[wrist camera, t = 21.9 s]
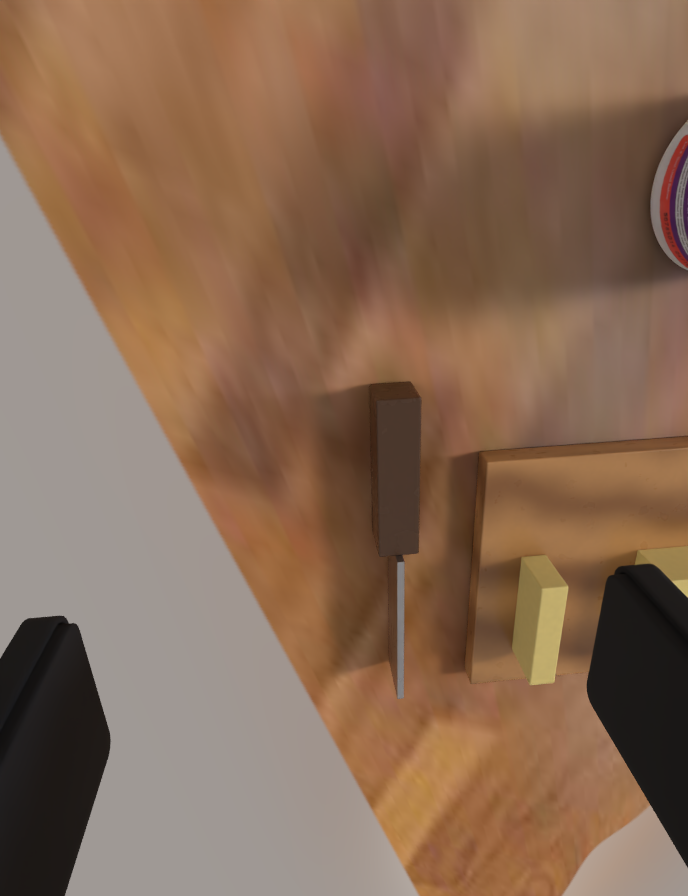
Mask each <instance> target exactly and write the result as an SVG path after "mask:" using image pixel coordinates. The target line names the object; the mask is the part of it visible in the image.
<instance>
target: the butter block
mask: <svg viewBox="0 0 688 896" xmlns="http://www.w3.org/2000/svg"><path fill="white" fill-rule="evenodd" d="M649 563H650V564H654V565H655V566H657V567H658V568H659V569H660V570H661V571H662V572H663V573H664V574H665V575H666V576H667V577H668V578H669V579H670V580H671V581H672V582H673V583H674V584H675V585H676V586H677V587H678V588H679V589H680V590H681V591H682V592H683V593H684V594H685V595H686V596H687V597H688V546H681V547H670V548H658V549H647V550H638V551H637V556H636V561H635V565H638V564H649Z"/></svg>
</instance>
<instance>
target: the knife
mask: <svg viewBox="0 0 688 896" xmlns="http://www.w3.org/2000/svg"><path fill="white" fill-rule="evenodd" d="M369 393H370V439H371V484H372V530H373V535H374V539H375V543H376V547H377V551H378V555H379V556H380V557H383V556H388V615H389V663H390V667H391V672H392V676H393V681H394V686H395V690H396V695H397V699H402V698H404V566H405V562H404V559H403V556H402V555H406V554H417V553H418V552H419V503H420V447H421V397H420V395H419V394H418V392H417V391H416V389H415V388H414V386H413V385H412V383H411V382H397V383H382V384H371V385H370V386H369Z"/></svg>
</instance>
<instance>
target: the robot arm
mask: <svg viewBox="0 0 688 896" xmlns="http://www.w3.org/2000/svg"><path fill="white" fill-rule="evenodd" d="M587 693H588V697H589V700H590V703H591V705H592V707H593V709H594V710H595V712H596V714H597V715H598V717H599V719H600V720H601V722H602V724H603V725H604V727H605V729H606V730H607V732H608V734H609V736H610V737H611V739H612V741H613V742H614V744H615V746H616V747H617V749H618V751H619V752H620V754H621V756H622V757H623V759H624V761H625V763H626V764H627V766H628V768H629V769H630V771H631V773H632V774H633V776H634V778H635V779H636V781H637V783H638V785H639V786H640V788H641V790H642V791H643V793H644V795H645V796H646V798H647V800H648V801H649V803H650V805H651V806H652V808H653V810H654V811H655V813H656V814H657V817H658V818H659V820H660V822H661V823H662V825H663V827H664V828H665V830H666V832H667V833H668V835H669V837H670V838H671V840H672V842H673V844H674V845H675V847H676V849H677V850H678V852H679V854H680V855H681V857H682V859H683V860H684V862H685V864H686V865H687V867H688V597H687V596H686V595H685V594H684V593H683V592H682V591H681V590H680V589H679V588H678V587H677V586H676V585H675V584H674V583H673V582H672V581H671V580H670V579H669V578H668V577H667V576H666V575H665V574H664V573H663V572H662V571H661V570H660V569H659V568H658V567H657V566H655V565H654V564H650V563H649V564H638V565H627V566H620V567H618V568H617V569H616V570H615V572H614V575H610V576H609V577H608V578H607V580H606V584H605V589H604V595H603V600H602V605H601V611H600V616H599V621H598V627H597V632H596V637H595V642H594V648H593V653H592V658H591V664H590V669H589V674H588V680H587ZM109 751H110V732H109V729H108V725H107V722H106V718H105V715H104V712H103V708H102V705H101V702H100V698H99V695H98V691H97V688H96V684H95V681H94V678H93V674H92V671H91V668H90V664H89V661H88V657H87V654H86V651H85V647H84V644H83V641H82V637H81V633H80V630H79V628H78V626H77V625H76V624H74V623H72V624H69V623H68V621H67V619H66V618H65V617H64V616H52V617H41V618H29V619H27V620H25V621H24V622H23V623H22V624H21V625H20V627H19V629H18V630H17V632H16V634H15V635H14V637H13V639H12V640H11V642H10V643H9V645H8V647H7V648H6V650H5V652H4V653H3V655H2V657H1V658H0V896H65V893H66V890H67V887H68V884H69V880H70V877H71V874H72V871H73V868H74V864H75V861H76V858H77V855H78V852H79V849H80V845H81V842H82V839H83V836H84V832H85V829H86V826H87V823H88V820H89V817H90V814H91V810H92V807H93V804H94V801H95V798H96V795H97V791H98V788H99V785H100V782H101V778H102V775H103V772H104V768H105V766H106V763H107V760H108V756H109Z"/></svg>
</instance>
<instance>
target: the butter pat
mask: <svg viewBox="0 0 688 896" xmlns="http://www.w3.org/2000/svg"><path fill="white" fill-rule="evenodd" d="M567 594H568V585H567V584H566V582H565V581H564V580H563V578H562V577H561V575H560V574H559V573H558V571H557V570H556V568H555V567H554V566H553V564H552V563H551V561H550V560H549V559H548V557H547V556H546V555H538V556H527V557H522V558H521V567H520V577H519V586H518V595H517V605H516V614H515V623H514V633H513V642H512V650H513V652H514V654H515V656H516V658H517V660H518V662H519V664H520V666H521V668H522V670H523V672H524V674H525V676H526V678H527V680H528V682H529V684H530V685H538V684H547V683H554V679H555V673H556V666H557V660H558V653H559V647H560V640H561V633H562V627H563V620H564V614H565V607H566V600H567Z"/></svg>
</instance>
